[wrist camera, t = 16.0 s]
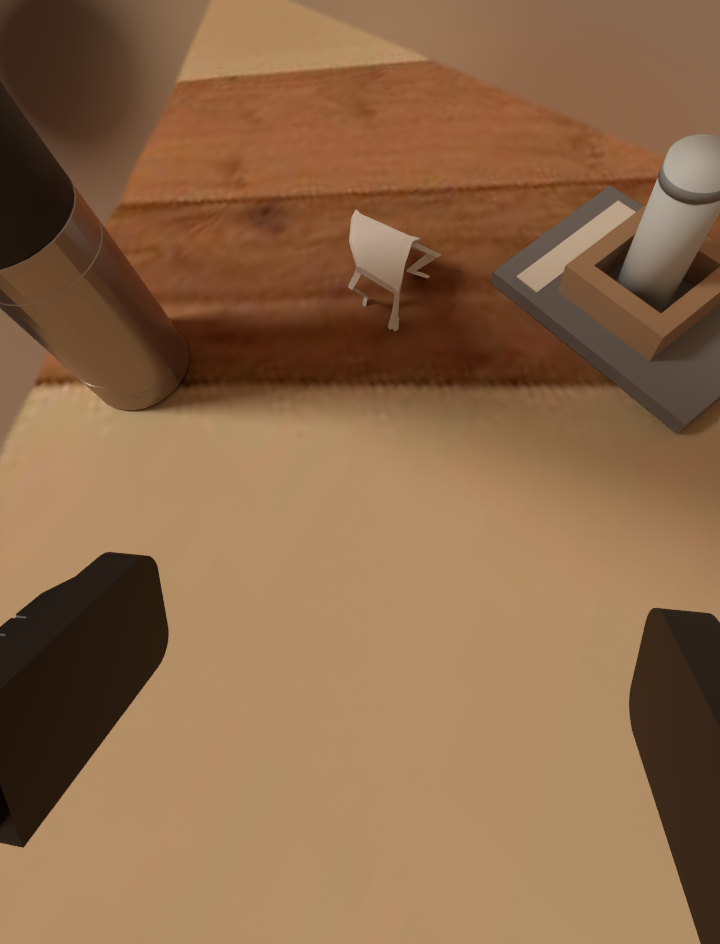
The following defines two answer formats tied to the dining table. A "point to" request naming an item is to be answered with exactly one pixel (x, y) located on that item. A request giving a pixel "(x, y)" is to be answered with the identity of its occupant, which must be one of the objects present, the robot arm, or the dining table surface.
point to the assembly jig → (623, 309)
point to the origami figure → (384, 257)
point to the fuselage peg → (674, 220)
